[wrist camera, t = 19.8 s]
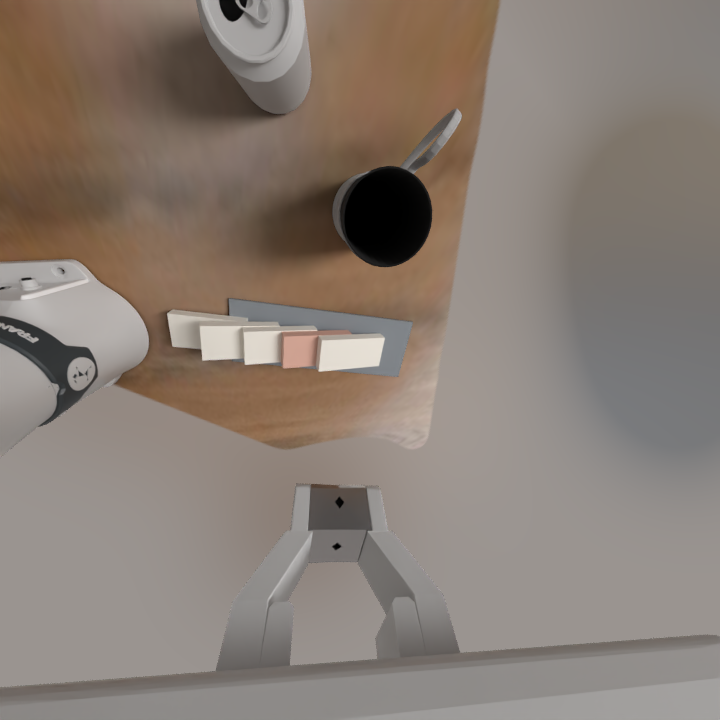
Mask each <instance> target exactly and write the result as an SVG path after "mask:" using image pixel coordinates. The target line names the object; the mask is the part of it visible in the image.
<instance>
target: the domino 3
mask: <svg viewBox="0 0 720 720" xmlns="http://www.w3.org/2000/svg"><path fill="white" fill-rule="evenodd" d="M289 331H317V329H316V327H315V326H268V327H243V351H244V363H245V365H250V364H263V363H277V362H281V345H282V332H289Z"/></svg>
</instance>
